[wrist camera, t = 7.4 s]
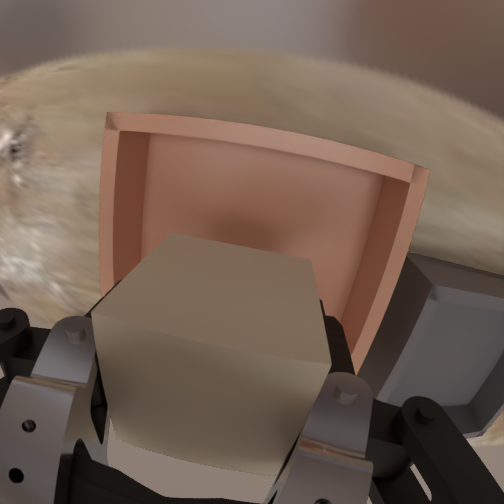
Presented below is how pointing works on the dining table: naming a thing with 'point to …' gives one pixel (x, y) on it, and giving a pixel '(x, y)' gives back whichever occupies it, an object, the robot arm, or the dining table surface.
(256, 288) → the block
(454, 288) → the bin
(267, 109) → the dining table surface
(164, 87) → the dining table surface
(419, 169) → the bin
